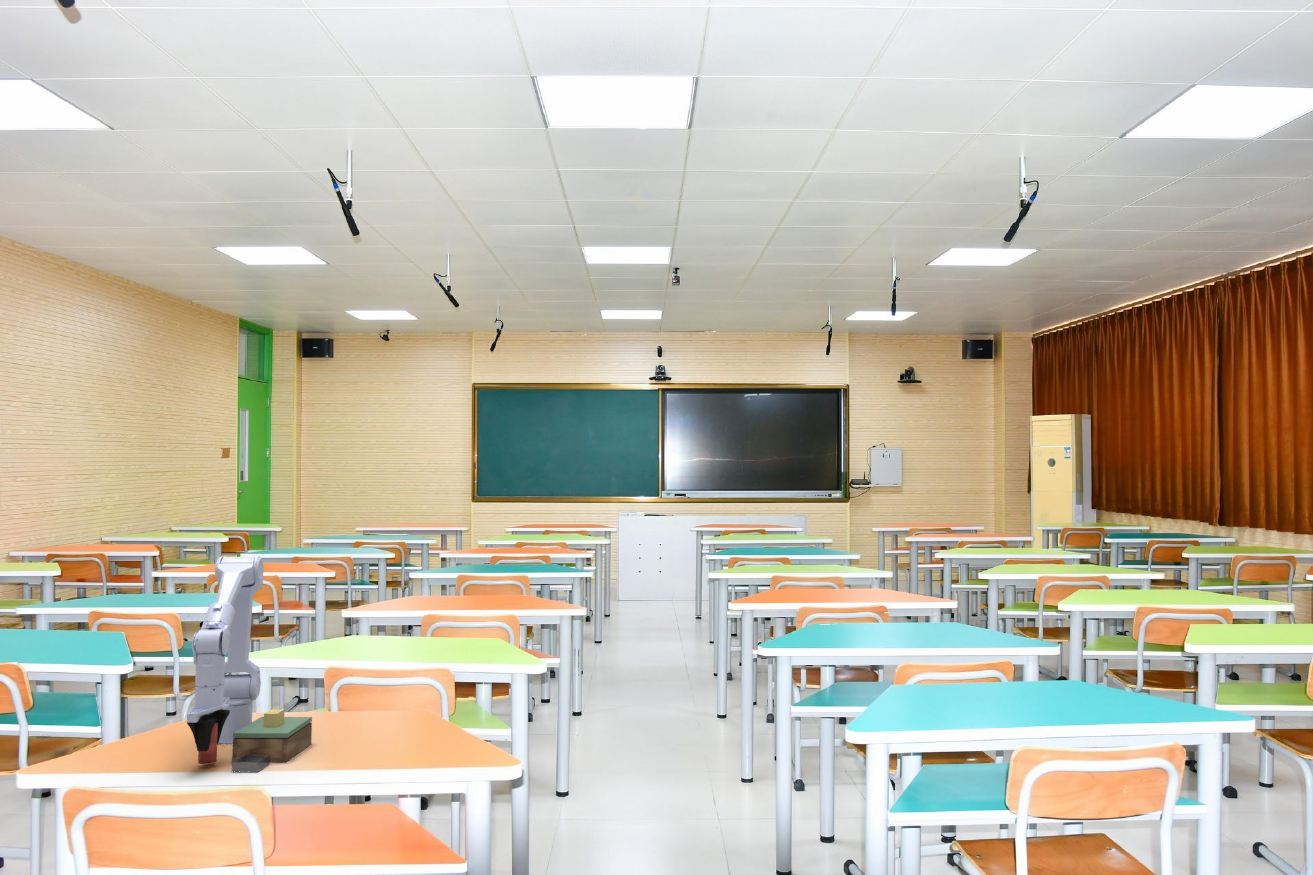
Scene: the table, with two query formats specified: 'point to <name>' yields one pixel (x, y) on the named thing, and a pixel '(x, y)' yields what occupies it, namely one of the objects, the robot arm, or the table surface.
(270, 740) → the wooden box
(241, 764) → the key socket
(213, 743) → the key peg
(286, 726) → the lid
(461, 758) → the table surface
